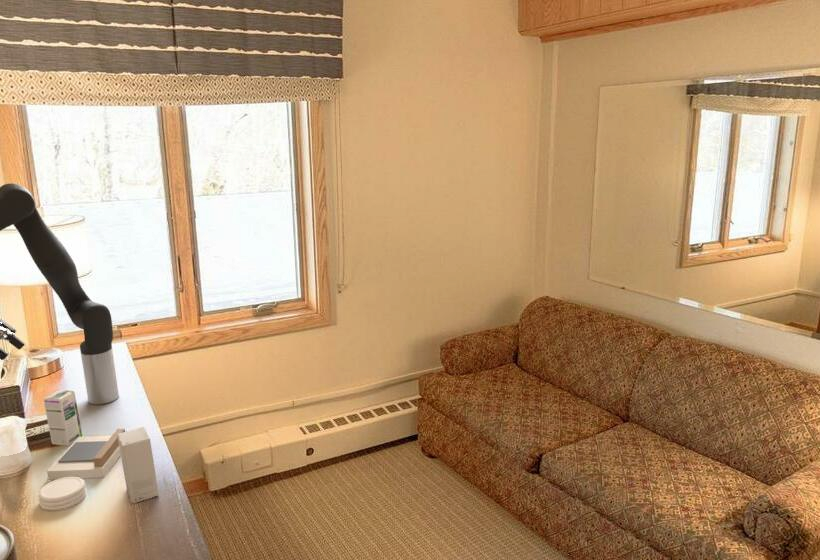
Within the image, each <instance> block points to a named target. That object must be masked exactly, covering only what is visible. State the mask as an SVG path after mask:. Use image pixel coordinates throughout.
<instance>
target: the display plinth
mask: <svg viewBox="0 0 820 560" xmlns="http://www.w3.org/2000/svg"><path fill="white" fill-rule="evenodd" d="M123 432H126V428H117V429H116V431H115V432H113V434H112V435H97V436H95V435H94V436H82V437H78V438H77V439H76V441H75V442H73V443H72V444H70V445H69V446H68V448H67V449H66V450H65V451H64V452H63V453H62V454H61V456H59V458H58V459H57V460H56V461H55V462H54V463H53V464H52V465H51V466H50V467H49V468H48V470H46V473H47V479H48V480H49V481H54V480H57V479H60V478H65V477H78V478H81V479H96V478H97V479H100V478H105V477H106V476H107V474H108V473H109V472H110V470H111V469H112V467H114V465H115V463H116V462H117V461H118V460H119V458H121V453H120V447H119V442H118V435H117V434H119V433H123Z"/></svg>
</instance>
